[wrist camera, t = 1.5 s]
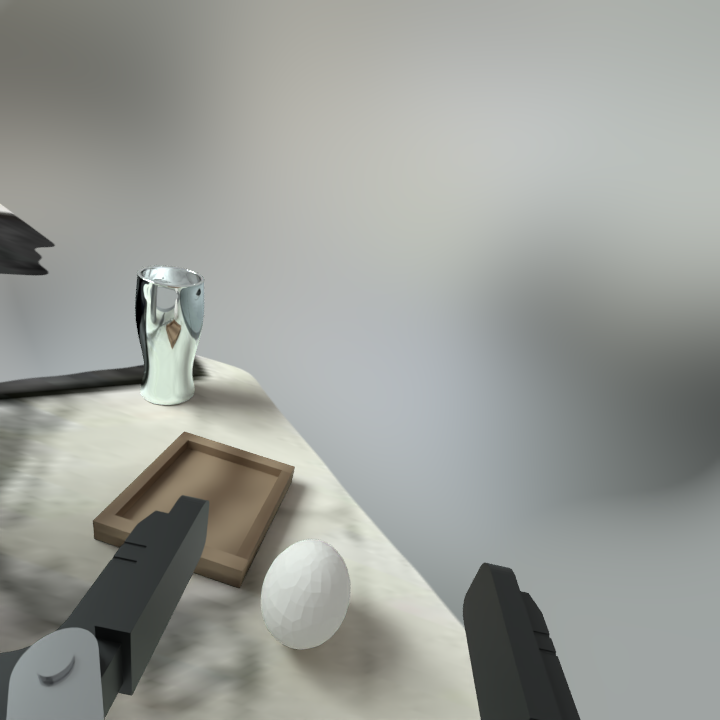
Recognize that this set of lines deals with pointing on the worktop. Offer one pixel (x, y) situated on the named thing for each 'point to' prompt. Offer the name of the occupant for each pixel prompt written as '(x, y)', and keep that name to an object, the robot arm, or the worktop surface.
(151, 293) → the beer glass
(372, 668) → the worktop surface
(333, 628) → the egg
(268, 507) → the walnut tray
